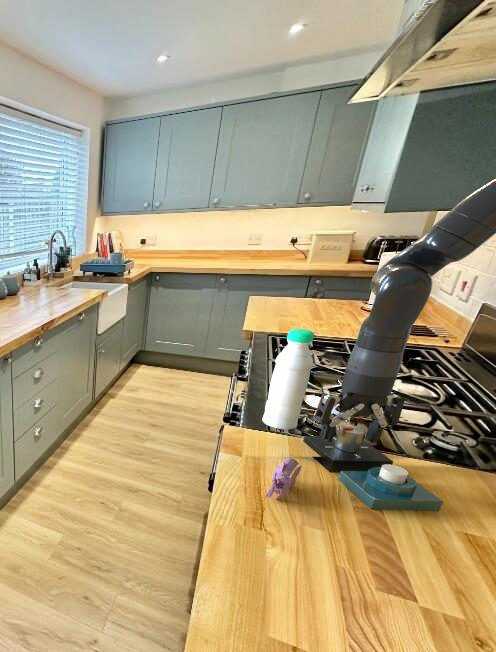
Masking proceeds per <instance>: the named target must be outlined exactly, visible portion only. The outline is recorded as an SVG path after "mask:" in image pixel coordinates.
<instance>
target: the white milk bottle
mask: <svg viewBox="0 0 496 652" xmlns="http://www.w3.org/2000/svg"><path fill="white" fill-rule="evenodd" d="M314 338H315V333H314V332H313V331H311V330H309V329H303V328H293V329H290V330H289V331H288V332H287V335H286V340H287V341H286V342H287V345H286V346H285V347H283V350H282V351H281V352H280V353H278V355H277V356H276V358H275V366H274V368H273V372H272V377H271V380H270V384H269V388H268V389H269V390H268V399H267V401H266V402H265V407H264V413H263V416H262V422H263V423H264V424H265V425H267V426H269V427H271V428H275V429H277V430H294V429H296V428H298V423H299V422H298V421H299V417H300V415H301V411H302V404H303V402H304V398H305V395H306V393H307V389H308V384H309V380H310V375H311V369H313V366H314V359H313V355H312V353H311V350H310V347H309V346H310V345H311V344H312V342H313V341H314Z"/></svg>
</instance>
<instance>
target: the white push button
mask: <svg viewBox="0 0 496 652" xmlns="http://www.w3.org/2000/svg"><path fill="white" fill-rule="evenodd" d="M408 475H409V471H408V470H407V469H405V468H403V467H401V466H399V465H396V464H392V465H390V464H385V465H382V467H381V470H380V473H379V477H380V478H382V479H384V480H386V481H388V482H392V483H396V484H404V483H405V481H406V479H407V476H408Z"/></svg>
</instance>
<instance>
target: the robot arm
mask: <svg viewBox="0 0 496 652" xmlns="http://www.w3.org/2000/svg"><path fill="white" fill-rule="evenodd" d="M495 235H496V178H495V179H494V178H493V180H491V181H489V182H487V183H486V184H484V185H482V186H481V187H479V188H478V189H476V190H475V191H474V192H472V193H471V194H469V195H468V196H466V197H465V198H464V199H462V200H461V201H459V202H458V204H456V205H454V207H453V208H452V209H450V210H449V211H448V212H447V213H446V214H445V215H444V216H443V217H441V218H440V219H439V220H438V221H437V222H436V223H435V224H433V226H431V227H430V228H429V229H428V230H427V231H426V232H425V233H424V234H423V235H422V236H421V237H420V238H418V239H417V240H416V241H414V242H413V243H411V244H410V245H408V246H407V247H405V248H404V249H403V250H401V251H400V252H399V253H397V254H396V255H395V256H393V257H392V258H391V259H389V260H388V261H386V262H385V264H383V265H382V266H381V267H380V268H379V269H378V270H377V271H376V272H375V273H374V275H373V277H372V278H371V281H370V289H371V290H370V291H371V292H372V293H373V294H374V296H375V297H374V301H373V304H372V307H371V310H370V311H369V315H368V316H367V317H365V318H364V320H363V321H362V324H361V326H360V328H359V331H358V334H357V336H356V337H357V338H356V340H355V343H354V347H353V348H352V350H351V353H350V355H349V358H348V362H347V364H346V368H345V371H344V375H343V378H342V381H341V384H340V386H341V391H340V393H339V394H337V395H330V394H328V393H326V392H324V393H322V395H321V396H320V400H319V402H318V405H317V408H316V410H315V413H314V415H313V418H314V419H315V420H316V421H317V422H319V423H321V424H322V426H321V430H320V432H319V436H321V437H322V439H324V440H325V441H326V442H332V439H333V436H334V435H335V432H336V430H337V427H336V426H338V425H339V424H340V423H342V422H344V421H347V420H348V419H349V418H358V417H362V418H370V420H371V421H372V422H369V425H368V428H367V431H366V433H365V435H364V437H365V440H367V441H368V442H369V443H371V444H376V443H377V442H378V441H379V440H380V439H381V437H382V434H383V431H384V428H387V426H390V425H393V426H396V425H398V424H399V421H400V418H401V416H402V412H403V408H404V405H405V401H406V399H405V398H403V397H401V396H400V395H397V394H395V393H392V391H393V388H394V386H395V383H396V380H397V377H398V374H399V372H400V369H401V366H402V364H403V358H404V353H405V350H406V347H407V344H408V342H409V339H410V335H411V333H412V328H413V326H414V324H415V323H416V321H417V320H418V318H419V317H420V315H421V313H422V312H423V310H424V308H425V306H426V304H427V303H428V300H429V299H430V295H431V293H432V289H433V278H432V277H433V276H435V275H436V274H438V273H439V272H441V270H443V269H444V268H445V267H447V266H448V265H451V264H452V263H456V262H460V261H462V260H464V259H465V258H467V257H468V256H470V255H471V254H473V253H474V252H475V251H476V250H478V249H479V248H480V247H481V246H482V245H484V244H485V243H486V242H487V241H489V240H490V239H492V237H493V236H495ZM384 406H385V407H384ZM383 407H384V411H382V410H381V409H382V408H383ZM341 411H342V413H341Z"/></svg>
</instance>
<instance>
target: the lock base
mask: <svg viewBox="0 0 496 652" xmlns="http://www.w3.org/2000/svg"><path fill="white" fill-rule="evenodd" d="M336 438H337V435H335V436H333V439H332V442H326V441H325V440H324V439H322V437H321V436H320V435H304V437H303V440H302V442H303V443H304V444H306V446H308V447H309V448H310V449H311V450H312V451H313V452H315V453H316V454H317V456H312V458H313V459H314V460H315V461H316V462H317V463H319V464H320V465H321V467H323V468H324V469H325V470H326V471H327V472H329V473H333V474H335V473H336V474H338V473H339V474H340V472H341V471H368V470H369V469H371V468H374V467H382V465H385V464H390V465H394V460H392V459H391V458H389V457H388V456H387V455H385V454H384V453H383V452H381V451H380V450H378V449H376V448H375V447H374V446H372V445H371V444H370V443H368V442H367V441H365V440H364V439H363V440H362V443H361V446H360V449H359V451H358V452H354V453H352V452H346V451H342V450H340V449H338V448H336V447H335V442H336Z"/></svg>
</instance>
